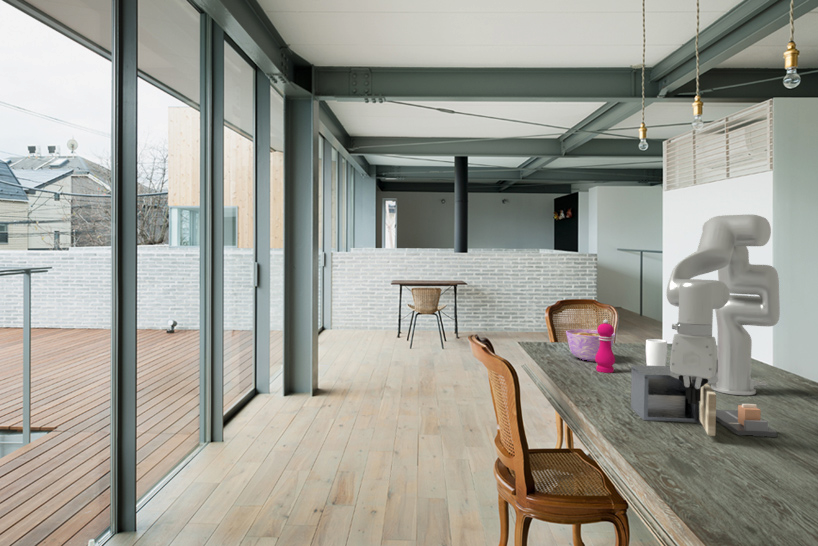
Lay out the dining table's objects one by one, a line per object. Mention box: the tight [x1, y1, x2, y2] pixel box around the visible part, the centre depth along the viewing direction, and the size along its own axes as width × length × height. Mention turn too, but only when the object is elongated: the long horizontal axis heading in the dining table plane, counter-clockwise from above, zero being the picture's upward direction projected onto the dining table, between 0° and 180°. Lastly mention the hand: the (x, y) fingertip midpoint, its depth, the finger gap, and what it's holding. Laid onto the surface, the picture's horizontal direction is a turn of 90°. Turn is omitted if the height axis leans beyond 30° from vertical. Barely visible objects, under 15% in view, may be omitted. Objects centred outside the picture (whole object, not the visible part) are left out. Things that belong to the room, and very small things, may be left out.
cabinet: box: [630, 364, 700, 424], centre depth 145 cm, size 14×12×12 cm
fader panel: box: [716, 408, 778, 438], centre depth 137 cm, size 9×18×4 cm, turn 173°
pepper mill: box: [594, 318, 616, 374], centre depth 199 cm, size 7×7×20 cm
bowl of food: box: [565, 328, 616, 362], centre depth 221 cm, size 20×20×12 cm
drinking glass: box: [645, 338, 668, 366], centre depth 181 cm, size 7×7×15 cm
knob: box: [737, 403, 762, 426], centre depth 132 cm, size 4×4×5 cm
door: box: [699, 383, 717, 437], centre depth 131 cm, size 14×2×12 cm, turn 159°
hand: (693, 402), depth 131 cm, fingers closed
